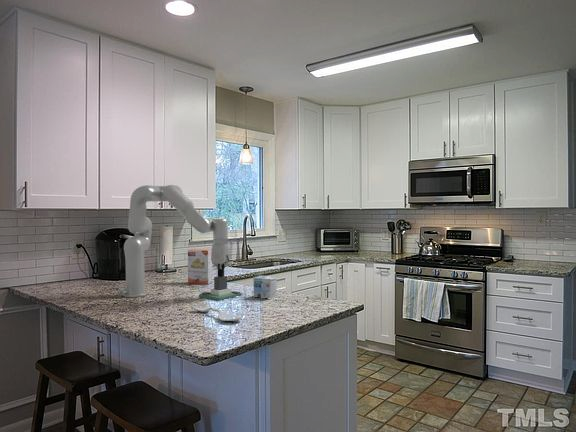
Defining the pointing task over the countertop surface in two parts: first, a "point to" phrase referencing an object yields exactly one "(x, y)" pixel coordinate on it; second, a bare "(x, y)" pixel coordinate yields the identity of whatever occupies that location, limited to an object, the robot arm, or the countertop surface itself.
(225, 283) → the plug
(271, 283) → the light bulb box
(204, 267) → the cracker box
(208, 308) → the spoon
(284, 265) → the countertop surface
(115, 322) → the countertop surface
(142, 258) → the robot arm
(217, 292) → the board
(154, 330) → the countertop surface
